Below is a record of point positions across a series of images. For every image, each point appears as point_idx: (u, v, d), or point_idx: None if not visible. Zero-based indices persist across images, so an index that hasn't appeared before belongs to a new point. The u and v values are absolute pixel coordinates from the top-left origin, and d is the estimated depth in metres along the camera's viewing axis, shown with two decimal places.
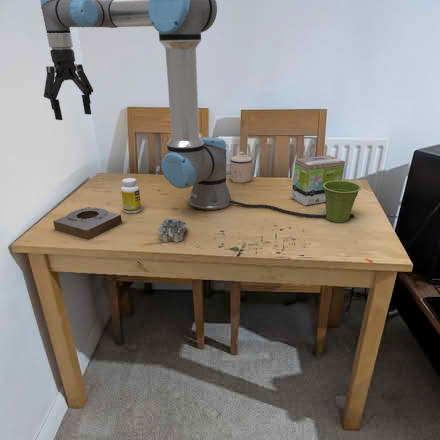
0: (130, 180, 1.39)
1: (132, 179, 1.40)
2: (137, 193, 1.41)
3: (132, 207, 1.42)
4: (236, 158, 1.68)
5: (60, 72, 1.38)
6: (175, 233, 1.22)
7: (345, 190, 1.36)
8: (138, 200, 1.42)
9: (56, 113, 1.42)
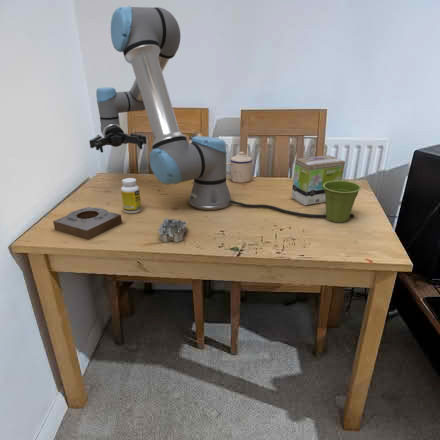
0: (130, 180, 1.39)
1: (132, 179, 1.40)
2: (137, 193, 1.41)
3: (132, 207, 1.42)
4: (236, 158, 1.68)
5: None
6: (175, 233, 1.22)
7: (345, 190, 1.36)
8: (138, 200, 1.42)
9: (100, 148, 1.43)
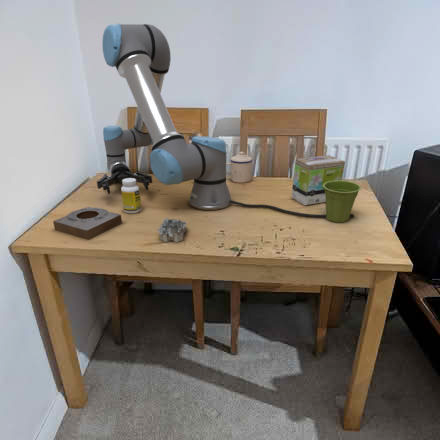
0: (130, 180, 1.39)
1: (132, 179, 1.40)
2: (137, 193, 1.41)
3: (132, 207, 1.42)
4: (236, 158, 1.68)
5: None
6: (175, 233, 1.22)
7: (345, 190, 1.36)
8: (138, 200, 1.42)
9: (107, 189, 1.47)
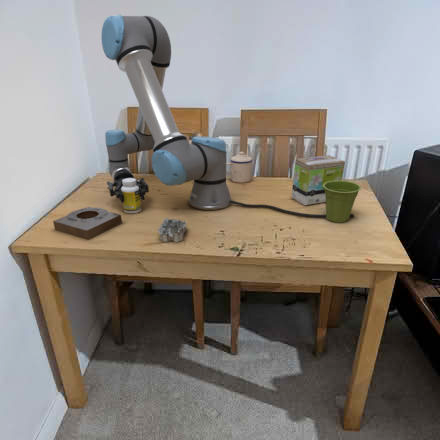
0: (130, 180, 1.39)
1: (132, 179, 1.40)
2: (137, 193, 1.41)
3: (132, 207, 1.42)
4: (236, 158, 1.68)
5: (116, 181, 1.50)
6: (175, 233, 1.22)
7: (345, 190, 1.36)
8: (138, 200, 1.42)
9: (120, 197, 1.39)
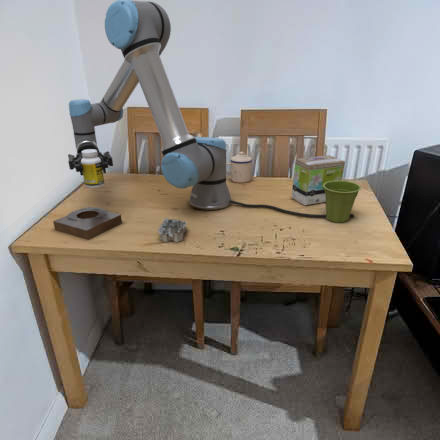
0: (90, 151, 1.27)
1: (93, 150, 1.28)
2: (98, 166, 1.28)
3: (93, 181, 1.29)
4: (236, 158, 1.68)
5: (79, 154, 1.37)
6: (175, 233, 1.22)
7: (345, 190, 1.36)
8: (100, 174, 1.29)
9: (79, 170, 1.26)
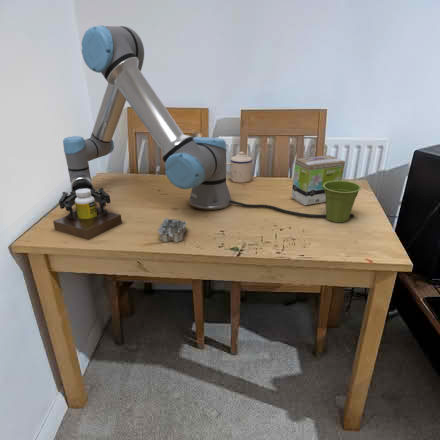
0: (84, 191, 1.30)
1: (86, 190, 1.31)
2: (92, 205, 1.31)
3: None
4: (236, 158, 1.68)
5: (73, 192, 1.40)
6: (175, 233, 1.22)
7: (345, 190, 1.36)
8: (93, 212, 1.33)
9: (69, 210, 1.30)
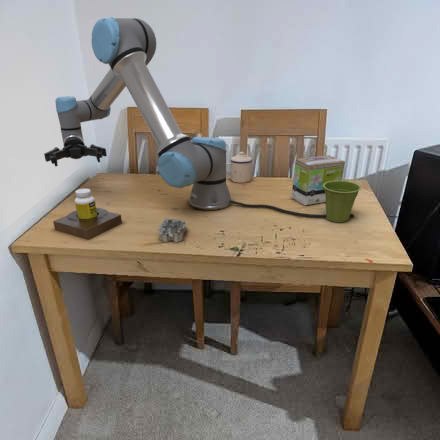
0: (84, 191, 1.30)
1: (86, 190, 1.31)
2: (92, 205, 1.31)
3: None
4: (236, 158, 1.68)
5: None
6: (175, 233, 1.22)
7: (345, 190, 1.36)
8: (93, 212, 1.33)
9: (54, 161, 1.34)
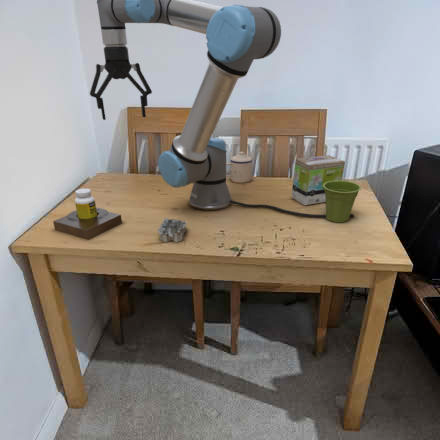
0: (84, 191, 1.30)
1: (86, 190, 1.31)
2: (92, 205, 1.31)
3: None
4: (236, 158, 1.68)
5: (108, 70, 1.32)
6: (175, 233, 1.22)
7: (345, 190, 1.36)
8: (93, 212, 1.33)
9: None
